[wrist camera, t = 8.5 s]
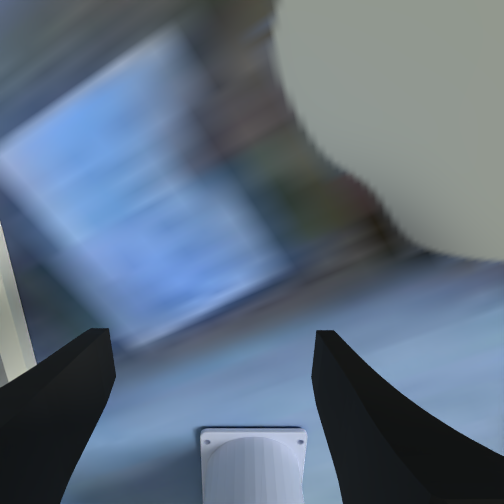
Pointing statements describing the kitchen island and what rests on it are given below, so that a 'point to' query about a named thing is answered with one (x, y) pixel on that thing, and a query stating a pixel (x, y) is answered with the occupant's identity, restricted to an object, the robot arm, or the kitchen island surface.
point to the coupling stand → (12, 324)
